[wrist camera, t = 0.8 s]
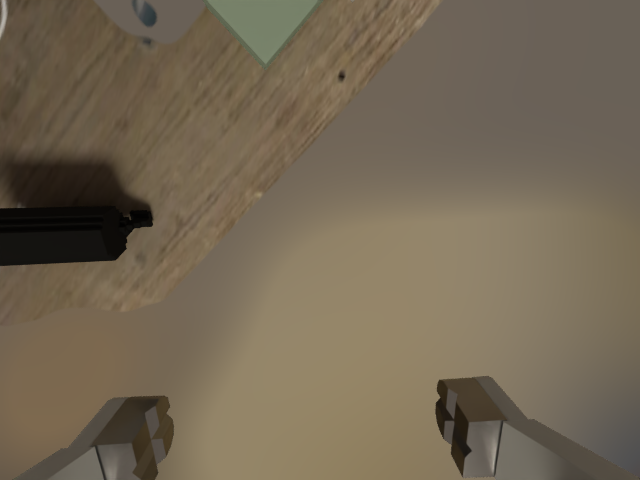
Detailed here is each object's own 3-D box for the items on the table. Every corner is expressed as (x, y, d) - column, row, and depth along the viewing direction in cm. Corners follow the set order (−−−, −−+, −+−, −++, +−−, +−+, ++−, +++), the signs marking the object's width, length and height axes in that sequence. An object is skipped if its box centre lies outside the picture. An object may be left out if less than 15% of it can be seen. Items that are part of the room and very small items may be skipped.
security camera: (157, 235, 51) (134, 264, 42) (33, 240, 48) (-19, 272, 39) (148, 196, 48) (122, 218, 39) (16, 198, 45) (-45, 223, 36)
